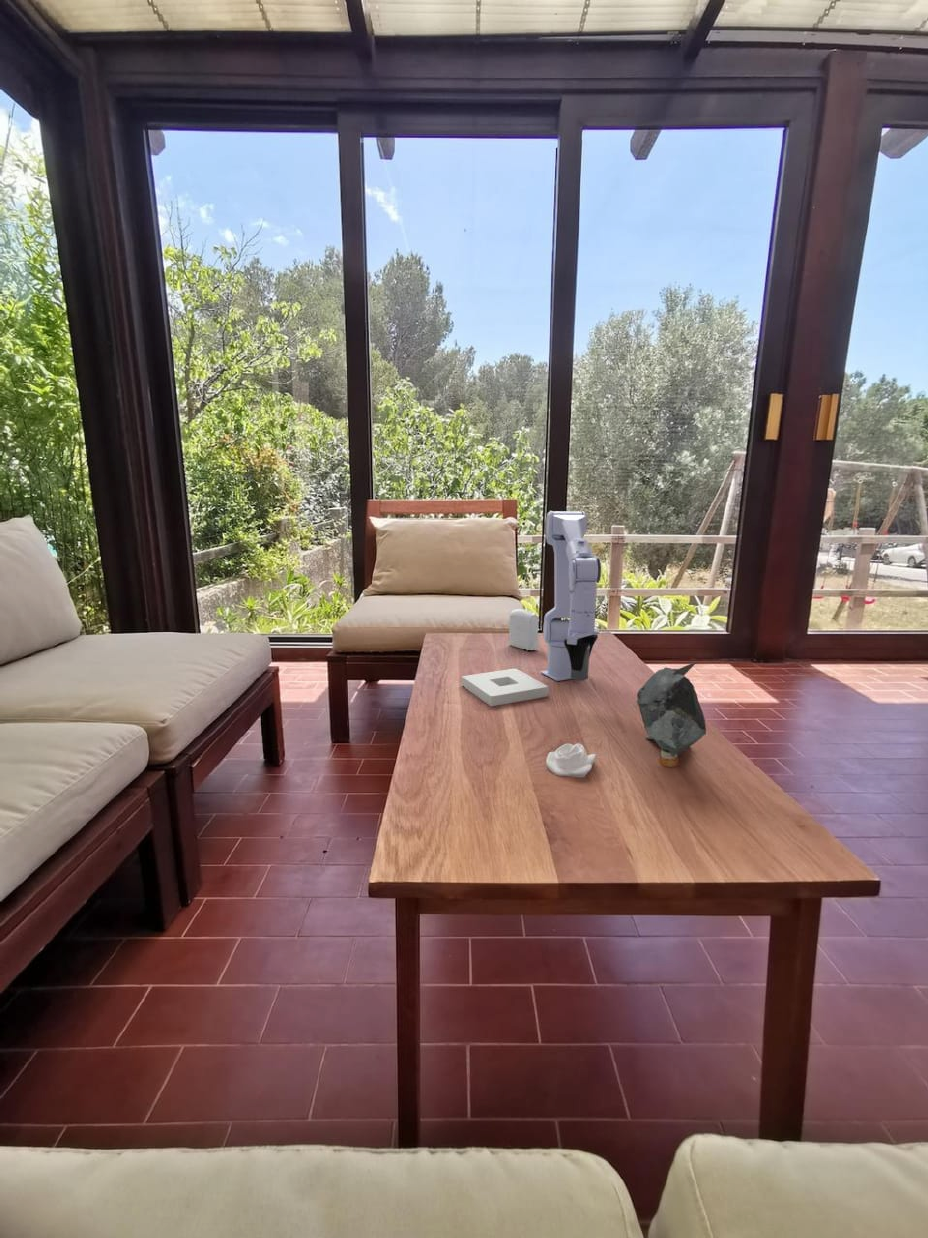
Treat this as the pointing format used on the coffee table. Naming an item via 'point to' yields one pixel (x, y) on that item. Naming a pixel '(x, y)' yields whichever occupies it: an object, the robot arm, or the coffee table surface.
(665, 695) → the grey rock on stand
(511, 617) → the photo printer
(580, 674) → the peg
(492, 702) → the socket block
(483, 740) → the coffee table surface
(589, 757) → the rose
